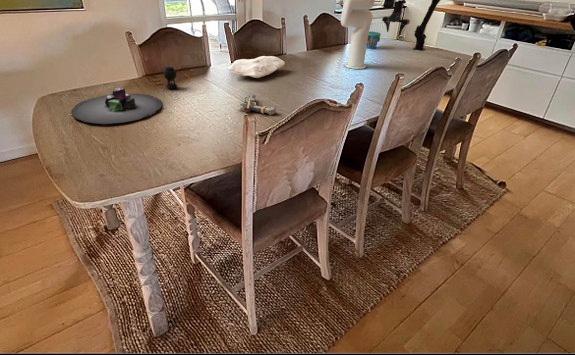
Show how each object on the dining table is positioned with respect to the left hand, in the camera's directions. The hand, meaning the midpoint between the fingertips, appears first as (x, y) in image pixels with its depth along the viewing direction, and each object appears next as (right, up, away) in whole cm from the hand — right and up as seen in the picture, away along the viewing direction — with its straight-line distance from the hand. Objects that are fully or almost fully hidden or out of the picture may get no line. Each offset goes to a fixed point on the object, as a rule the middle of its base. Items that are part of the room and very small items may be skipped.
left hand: (348, 15), depth 236 cm
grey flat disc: (-110, -77, -84) cm, 159 cm away
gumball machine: (-96, -62, -61) cm, 129 cm away
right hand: (+38, +1, +30) cm, 48 cm away
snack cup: (+20, -12, +25) cm, 35 cm away
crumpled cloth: (-57, -49, -37) cm, 84 cm away
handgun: (-52, -75, -77) cm, 120 cm away
